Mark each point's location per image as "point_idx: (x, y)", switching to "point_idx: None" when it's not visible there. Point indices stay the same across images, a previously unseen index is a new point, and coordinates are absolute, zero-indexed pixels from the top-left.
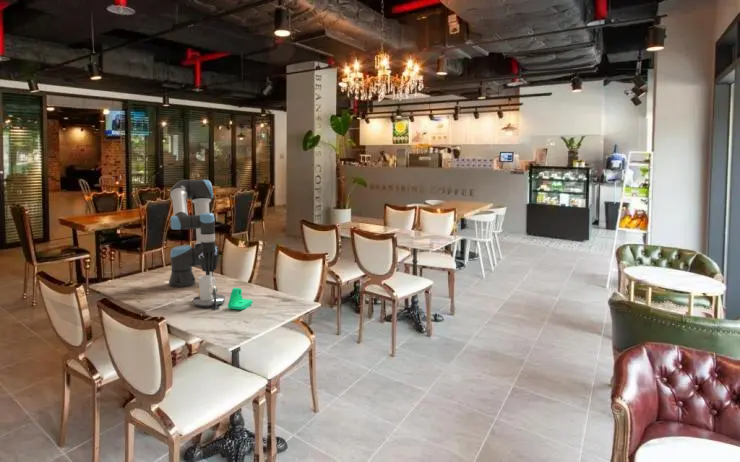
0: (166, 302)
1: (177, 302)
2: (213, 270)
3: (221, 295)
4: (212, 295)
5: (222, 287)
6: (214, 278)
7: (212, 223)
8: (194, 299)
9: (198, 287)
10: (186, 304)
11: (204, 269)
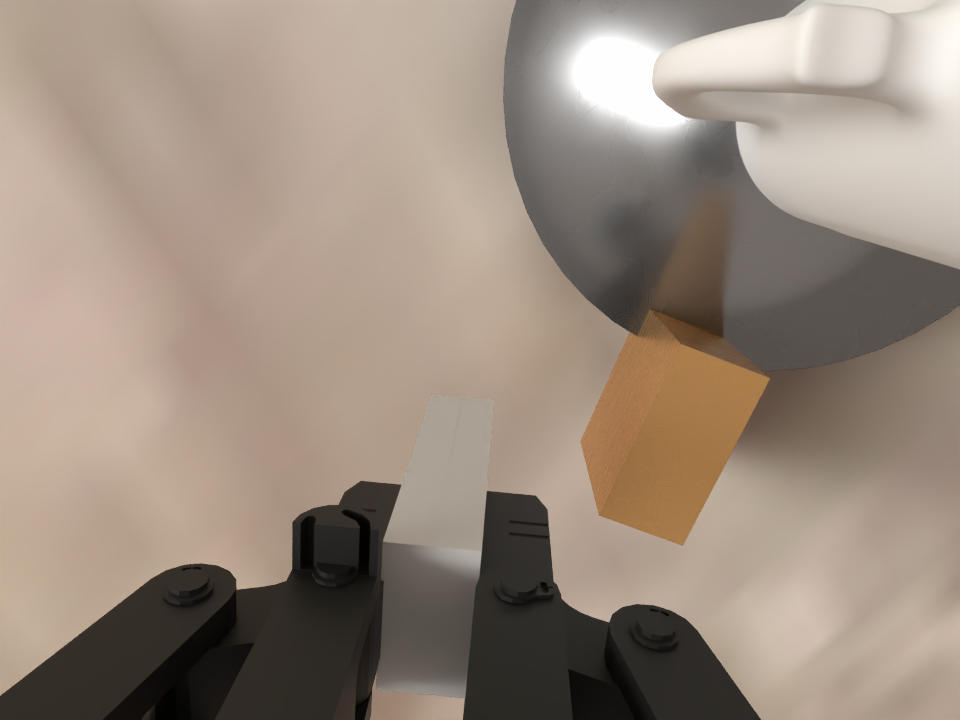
0: (953, 677)
1: (897, 563)
2: (339, 531)
3: (534, 21)
4: (806, 2)
5: (33, 554)
6: (772, 23)
7: None
8: (957, 280)
9: (697, 508)
10: (927, 391)
11: (730, 705)
